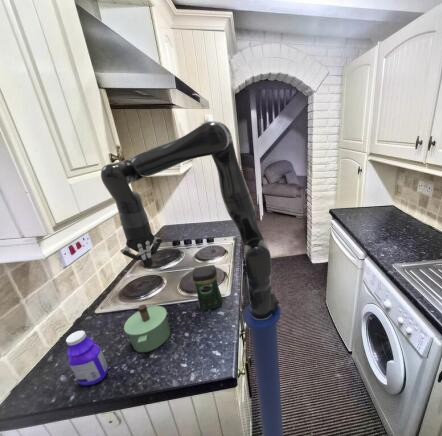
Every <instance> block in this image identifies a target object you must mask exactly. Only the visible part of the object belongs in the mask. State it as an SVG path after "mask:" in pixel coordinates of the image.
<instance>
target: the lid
mask: <svg viewBox="0 0 442 436" xmlns="http://www.w3.org/2000/svg"><path fill="white" fill-rule="evenodd" d="M150 306H151V305H150ZM137 309H138V311H136V312H134V313H133V314H132V315H131V316H129V318H128V319H127V320H126V321H125V323H124V326H123V329H124V332H125V334H127V335H128V334H129V335H133V336H137V335H142V334H146V333H148V332H150V331H152V330H154V329H155V328H157V327H158V326H159V325H161V324H162V323H163V321H164V320H165V318H166V316H167V315H168V312H167V309H166V307H164V306H161V305H155V306H151V307H148V306H147V305H146V304H141V305H139V306H138V307H137ZM167 317H168V316H167ZM129 335H128V336H129Z"/></svg>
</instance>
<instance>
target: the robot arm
mask: <svg viewBox="0 0 442 436" xmlns="http://www.w3.org/2000/svg"><path fill="white" fill-rule="evenodd" d="M209 156H211V157H212V160H213V162H214V165H215V168H216V171H217V176H218V184H219V190H220V196H221V198H222V201H223V204H224V206H225V209H226V212H227V214H228V215H229V218H230V219H231V221H232V222H233V224H234V226H235V227H236V228H237V231H238V232H239V235H240V239H241V242H242V246H243V254H244V255H243V256H244V261H245V263H244V264H245V271H246V281H247V289H248V299H249V304H250V309H251V316H252V318H253V319H255V320H258V321H263V320H267V319H269V318H270V317H271V316H272V315H274V314H275V311H274V308H277V307H278V305H279V303H280V302H279V299H277V297H276V295H275V293H273V290H272V257H271V251H270V249H269V246H268V244H267V242H266V240H265V238H264V235H263V234H262V232H261V230H260V227H259V225H258V220H257V214H256V208H255V205H254V201H253V198H252V195H251V192H250V189H249V187H248V185H247V182H246V179H245V176H244V174H243V172H242V170H241V167H240V165H239V162H238V158H237V153H236V149H235V145H234V140H233V136H232V133H231V131H230V129H229V127H228V126H227V125H226V124H224V123H223V122H222V121H219V120H218V121H217V120H211V121H205V122H203V123H202V124H200V125H198V127H196V128H195V129H193V130H191V131H190V132H188V133H186V134H185V135H183V136H181V137H179V138H177V139H175V140H172V141H169V142H166V143H162V144H160V145H157V146H154V147H151V148H149V149H147V150H143V151H141V152H139V153H136V154H135V155H133V157H129V158H127V159H124V160H121V161H117V162H112V163H108V164H105V165H104V166H103V167H102V168H101V170H100V179H101V181H102V183H103V185H104V187H105V188H106V190H107V192H108V193H109V195H110V196H111V198H112V199H113V201H114V203H115V205H116V209H117V212H118V216H119V221H120V225H121V227H122V231H123V233H124V236H125V240H126V243H125V245H126V246H125V247H124V248H122V249H120V253H121V254H122V255H123V256H126V257H128V258H130V259H132V260H135V261H141V264H142V266H143V267H144V269H150V268H152V267H153V264H154V263H153V259H152V256H154V255H156V254H157V252H158V251H159V248H160V247H161V244H162V242H163V239H162V238H160V237H157V236H155V235H154V234H153V232H152V229H151V225H150V221H149V218H148V214H147V211H146V210H145V206H144V203H143V199H142V196H141V194H140V193H139V192H137V191H134V190H132V189H131V187H130V184H132V183H136V182H138V181H140V180H142V179H144V178H146V177H150V176H154V175H156V174H158V173H161V172H164V171H167V170H169V169H172V168H173V167H175V166H178V165H180V164H182V163H184V162H187V161H190V160H193V159H197V158H203V157H209ZM132 250H133V251H135V252H136V253H137V254H138V255H137V254H135V253H132Z"/></svg>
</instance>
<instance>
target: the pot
mask: <svg viewBox="0 0 442 436" xmlns="http://www.w3.org/2000/svg"><path fill="white" fill-rule="evenodd" d="M151 306H156V304H151V305H148V306H147V307H151ZM127 335H128V337H129V340H130V343H131V345H132V348H133V350H135V351H136V352H137V353H148V352H151V351H154V350H156V349H157V348H159V347H161V346H162V345H164V344H165V342H167V340H168V339H169V337H170V335H171V326H170V323H169V319H168V316H166V318H165V320H164V321H163V323H162V324H161V325H159V326H158V327H157V328H155V329H154V330H152V331H150V332H148V333H146V334H142V335H137V336H133V335H129V334H127Z"/></svg>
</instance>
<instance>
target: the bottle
mask: <svg viewBox="0 0 442 436" xmlns="http://www.w3.org/2000/svg"><path fill="white" fill-rule="evenodd" d="M65 342H66V345H67V347H68V349H67V356H69V357H68V360H67V362H68V365H69V367H70V369H71V371H72V373H73V375H74V376H75V378H76V381H77V382H78V384H79V385H82V386H91V385H95V384H98V383H99V382H102V381H103V380H104V379H105V377H106V376H107V374H108V372H109V365H108V362H107V360H106V358H105V356H104V353H103V351H102V349H101V347H100V345H98V344H97V343H94V339H92V338H91V337H88V335H87V334H86V331H85V330H77V331H74V332H73V333H70V334H69V335H68V336H67V337H66V339H65Z"/></svg>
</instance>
